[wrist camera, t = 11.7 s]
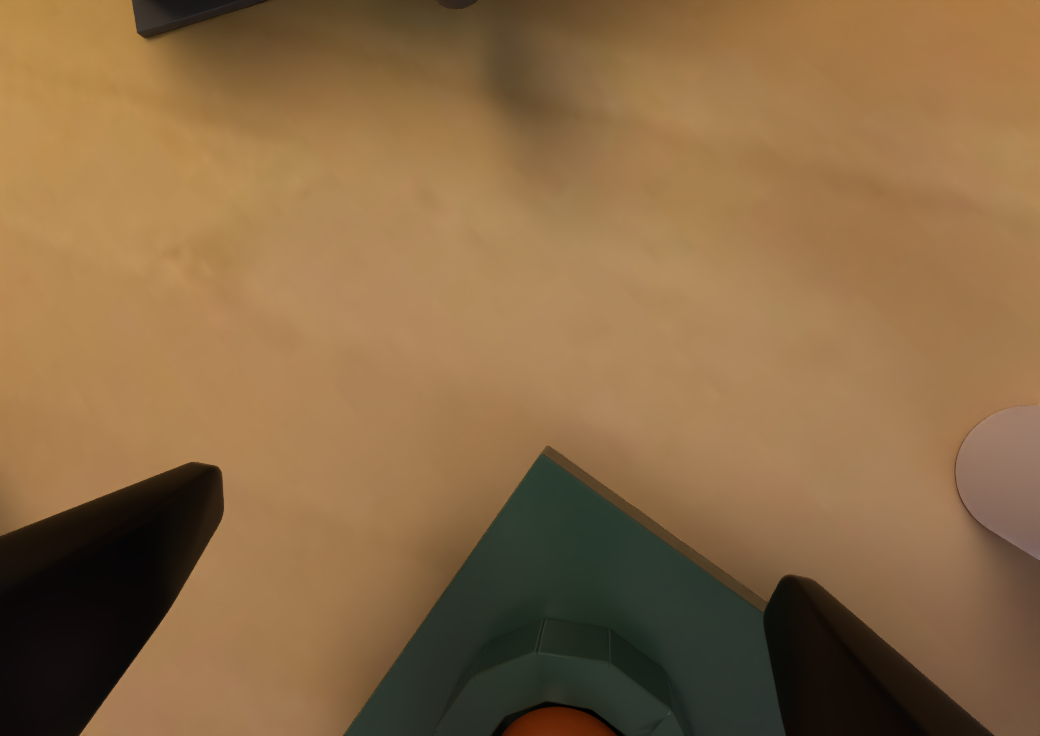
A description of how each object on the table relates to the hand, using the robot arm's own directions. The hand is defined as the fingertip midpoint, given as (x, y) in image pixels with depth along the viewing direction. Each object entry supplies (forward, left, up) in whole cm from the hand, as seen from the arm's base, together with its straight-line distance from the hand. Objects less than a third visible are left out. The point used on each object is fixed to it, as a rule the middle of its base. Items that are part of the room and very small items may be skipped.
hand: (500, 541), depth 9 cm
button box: (-6, -5, -8) cm, 11 cm away
